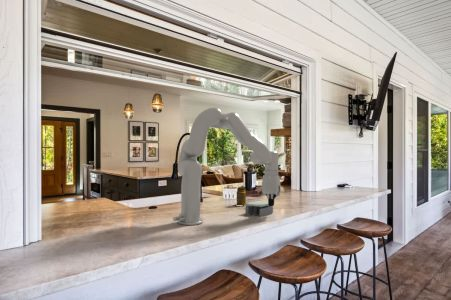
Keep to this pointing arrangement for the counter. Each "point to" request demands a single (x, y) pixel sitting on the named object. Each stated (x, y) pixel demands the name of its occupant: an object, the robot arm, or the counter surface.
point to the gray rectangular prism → (256, 209)
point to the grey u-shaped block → (262, 211)
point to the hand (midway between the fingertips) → (271, 205)
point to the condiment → (241, 196)
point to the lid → (257, 203)
